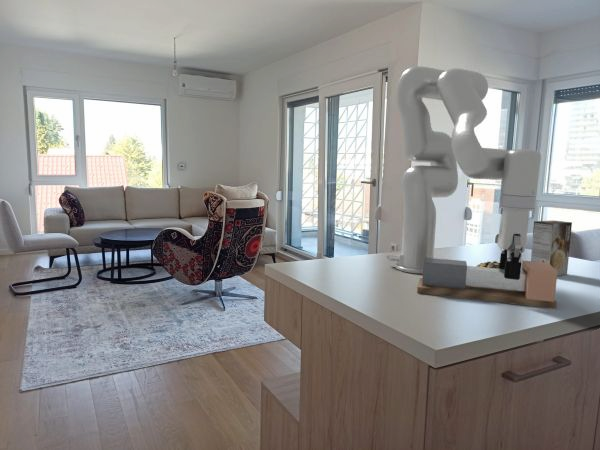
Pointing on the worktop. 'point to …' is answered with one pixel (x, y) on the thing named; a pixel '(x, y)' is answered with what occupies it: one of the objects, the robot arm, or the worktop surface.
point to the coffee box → (552, 244)
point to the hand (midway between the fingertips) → (508, 273)
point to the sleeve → (444, 273)
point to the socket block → (540, 280)
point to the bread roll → (489, 265)
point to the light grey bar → (494, 278)
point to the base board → (486, 295)
